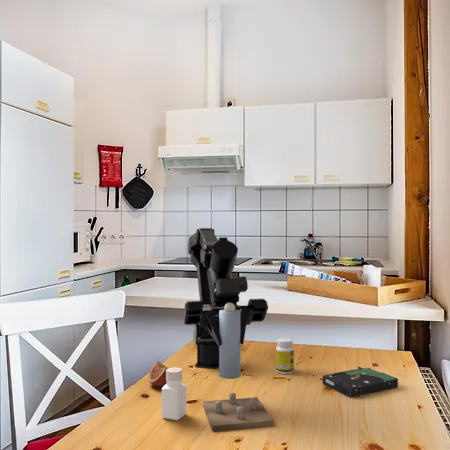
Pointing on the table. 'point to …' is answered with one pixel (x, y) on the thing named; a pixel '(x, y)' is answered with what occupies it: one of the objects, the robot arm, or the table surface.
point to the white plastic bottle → (174, 395)
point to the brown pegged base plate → (236, 413)
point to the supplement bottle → (284, 356)
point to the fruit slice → (158, 374)
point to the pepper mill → (229, 342)
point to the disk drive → (359, 382)
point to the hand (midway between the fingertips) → (231, 344)
